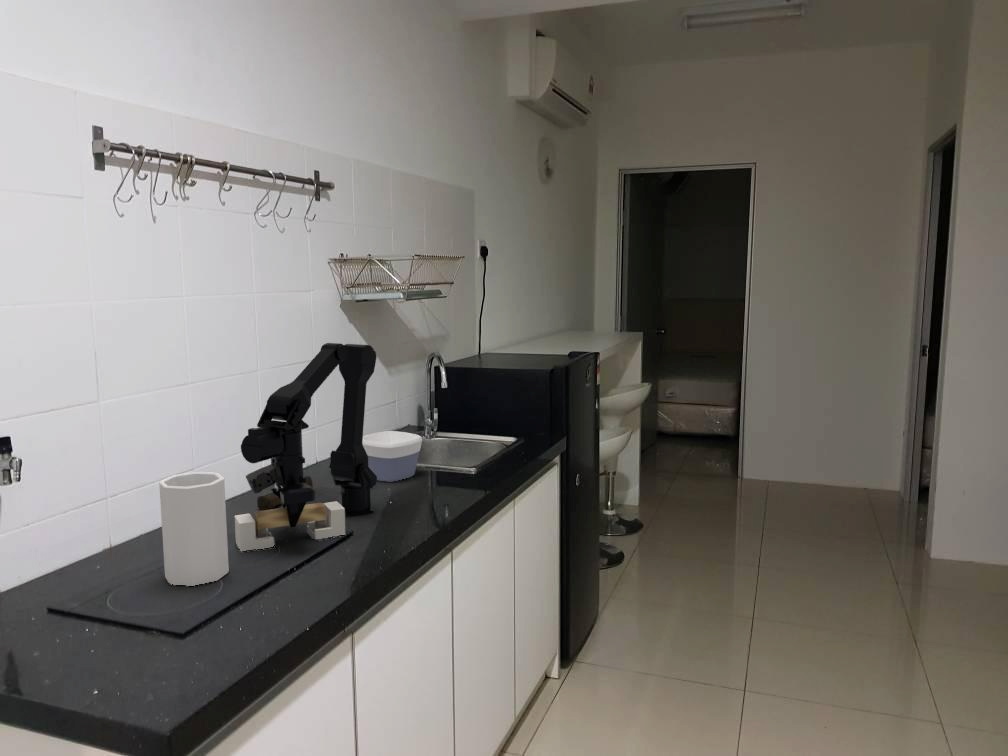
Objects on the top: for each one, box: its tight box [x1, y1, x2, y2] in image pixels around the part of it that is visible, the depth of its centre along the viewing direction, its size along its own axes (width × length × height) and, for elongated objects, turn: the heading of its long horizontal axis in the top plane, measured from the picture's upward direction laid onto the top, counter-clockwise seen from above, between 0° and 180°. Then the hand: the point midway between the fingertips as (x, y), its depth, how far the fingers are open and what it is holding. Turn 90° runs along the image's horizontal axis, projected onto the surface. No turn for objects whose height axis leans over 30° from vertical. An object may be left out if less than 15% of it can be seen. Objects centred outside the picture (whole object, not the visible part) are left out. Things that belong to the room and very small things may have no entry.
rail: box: [254, 502, 326, 538], centre depth 162 cm, size 14×3×5 cm, turn 118°
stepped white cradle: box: [234, 501, 346, 553], centre depth 163 cm, size 22×7×6 cm, turn 118°
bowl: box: [362, 430, 423, 483], centre depth 213 cm, size 15×15×11 cm
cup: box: [159, 471, 230, 587], centre depth 142 cm, size 11×11×18 cm
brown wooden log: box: [256, 475, 314, 511], centre depth 190 cm, size 19×4×5 cm, turn 155°
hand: (291, 524), depth 163 cm, fingers closed on rail, 3 cm apart
